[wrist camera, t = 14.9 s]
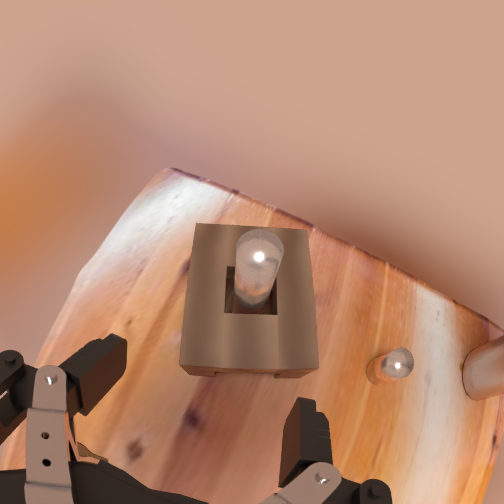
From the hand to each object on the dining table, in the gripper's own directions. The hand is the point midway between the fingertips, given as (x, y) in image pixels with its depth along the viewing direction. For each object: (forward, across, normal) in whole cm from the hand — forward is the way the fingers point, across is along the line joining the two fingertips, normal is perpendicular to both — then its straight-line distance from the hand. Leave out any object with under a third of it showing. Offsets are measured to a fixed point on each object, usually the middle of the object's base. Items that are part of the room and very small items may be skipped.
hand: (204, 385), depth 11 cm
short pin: (+21, -19, +9) cm, 30 cm away
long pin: (+23, 0, +7) cm, 24 cm away
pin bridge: (+23, 0, +7) cm, 24 cm away
